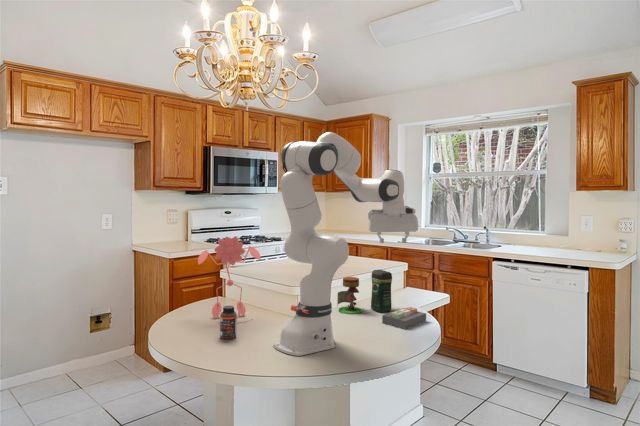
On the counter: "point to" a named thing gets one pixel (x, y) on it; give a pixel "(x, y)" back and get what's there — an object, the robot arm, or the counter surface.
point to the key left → (398, 315)
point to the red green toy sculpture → (349, 296)
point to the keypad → (404, 320)
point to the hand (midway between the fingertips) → (392, 242)
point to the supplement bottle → (228, 323)
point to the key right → (412, 310)
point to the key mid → (405, 312)
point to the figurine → (229, 254)
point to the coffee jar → (381, 291)
